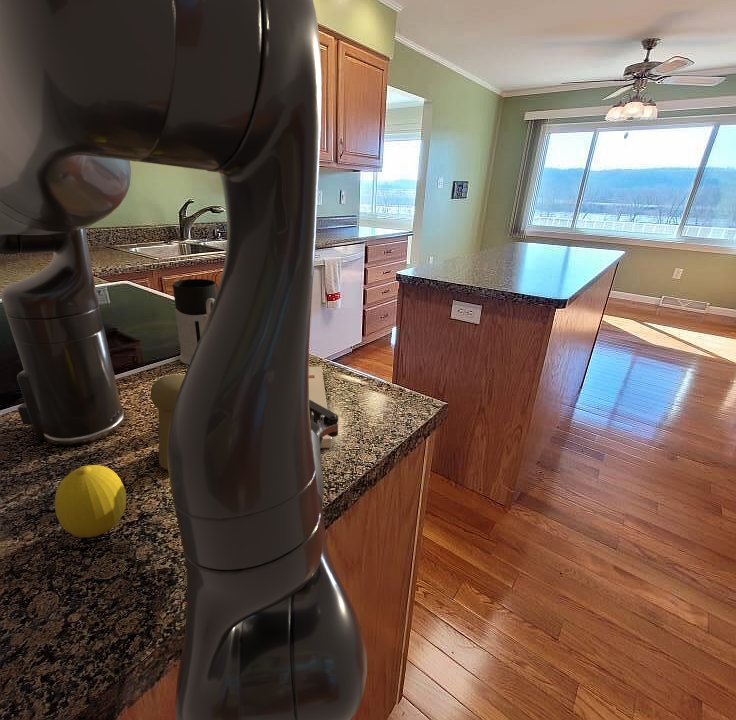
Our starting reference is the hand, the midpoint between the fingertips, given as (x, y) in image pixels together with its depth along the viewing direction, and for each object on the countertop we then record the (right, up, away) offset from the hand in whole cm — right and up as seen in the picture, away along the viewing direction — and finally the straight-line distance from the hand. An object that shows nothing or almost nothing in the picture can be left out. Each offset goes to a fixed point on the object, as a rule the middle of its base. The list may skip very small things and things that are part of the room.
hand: (286, 392), depth 54 cm
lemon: (-16, -13, -14) cm, 25 cm away
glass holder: (-21, +4, +25) cm, 33 cm away
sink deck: (-2, -3, +11) cm, 11 cm away
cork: (-13, -8, -2) cm, 15 cm away
